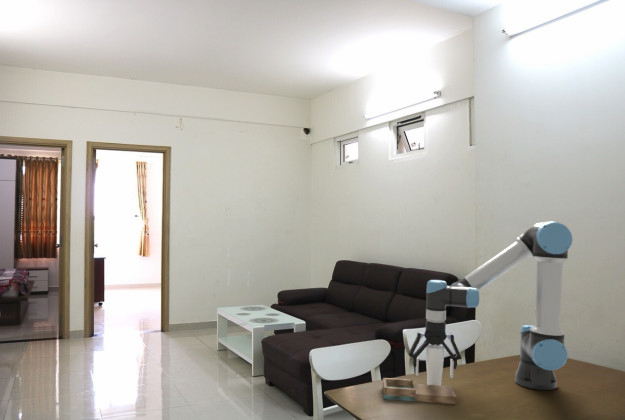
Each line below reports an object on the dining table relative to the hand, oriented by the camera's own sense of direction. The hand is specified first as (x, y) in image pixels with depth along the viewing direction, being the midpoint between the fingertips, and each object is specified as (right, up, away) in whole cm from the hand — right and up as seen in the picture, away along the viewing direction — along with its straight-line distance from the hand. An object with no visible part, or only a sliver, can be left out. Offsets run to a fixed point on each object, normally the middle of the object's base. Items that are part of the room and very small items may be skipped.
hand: (434, 376), depth 189 cm
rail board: (-8, -3, -12) cm, 15 cm away
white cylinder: (0, -4, 0) cm, 4 cm away
